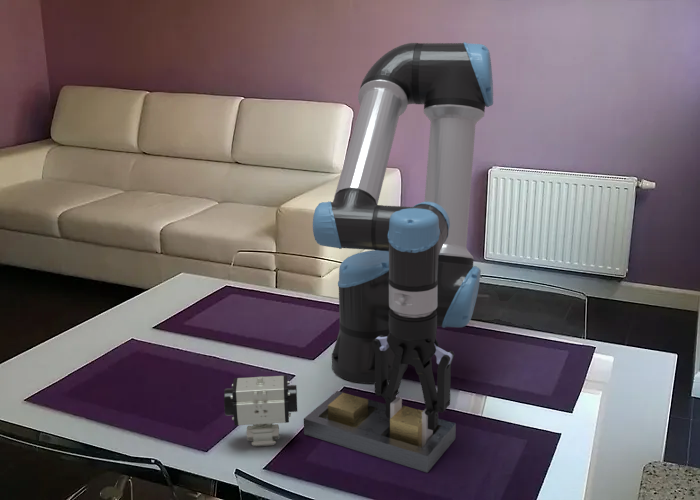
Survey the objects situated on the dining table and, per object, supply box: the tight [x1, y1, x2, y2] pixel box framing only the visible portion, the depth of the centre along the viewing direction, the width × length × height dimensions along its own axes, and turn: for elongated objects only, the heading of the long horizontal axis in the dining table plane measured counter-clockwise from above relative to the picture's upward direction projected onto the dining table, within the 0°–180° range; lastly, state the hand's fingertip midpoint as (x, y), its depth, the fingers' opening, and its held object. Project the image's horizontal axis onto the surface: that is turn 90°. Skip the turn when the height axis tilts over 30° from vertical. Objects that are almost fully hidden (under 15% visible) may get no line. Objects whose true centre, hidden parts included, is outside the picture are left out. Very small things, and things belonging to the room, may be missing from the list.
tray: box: [303, 390, 457, 474], centre depth 132 cm, size 23×11×3 cm, turn 60°
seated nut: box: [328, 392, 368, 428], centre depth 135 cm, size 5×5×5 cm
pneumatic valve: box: [223, 375, 298, 448], centre depth 130 cm, size 6×12×12 cm, turn 95°
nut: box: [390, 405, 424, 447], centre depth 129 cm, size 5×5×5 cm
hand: (411, 439), depth 129 cm, fingers closed on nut, 5 cm apart
